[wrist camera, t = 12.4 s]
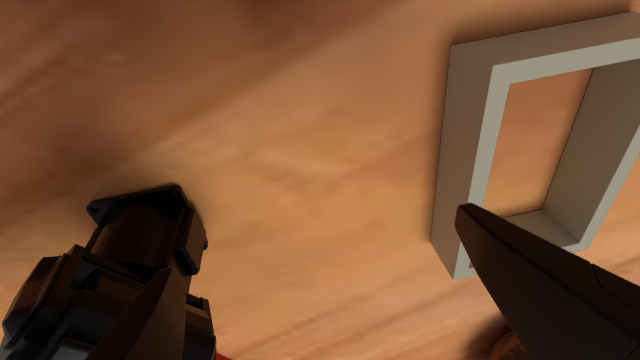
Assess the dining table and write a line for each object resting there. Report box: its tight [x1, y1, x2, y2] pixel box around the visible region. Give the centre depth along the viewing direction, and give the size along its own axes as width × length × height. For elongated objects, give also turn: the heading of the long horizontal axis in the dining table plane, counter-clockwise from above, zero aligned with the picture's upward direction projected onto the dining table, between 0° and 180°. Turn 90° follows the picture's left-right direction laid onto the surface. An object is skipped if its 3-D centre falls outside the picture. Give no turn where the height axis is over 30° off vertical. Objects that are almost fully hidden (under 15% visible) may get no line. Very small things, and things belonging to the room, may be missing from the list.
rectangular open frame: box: [430, 12, 640, 280], centre depth 24 cm, size 12×18×4 cm
